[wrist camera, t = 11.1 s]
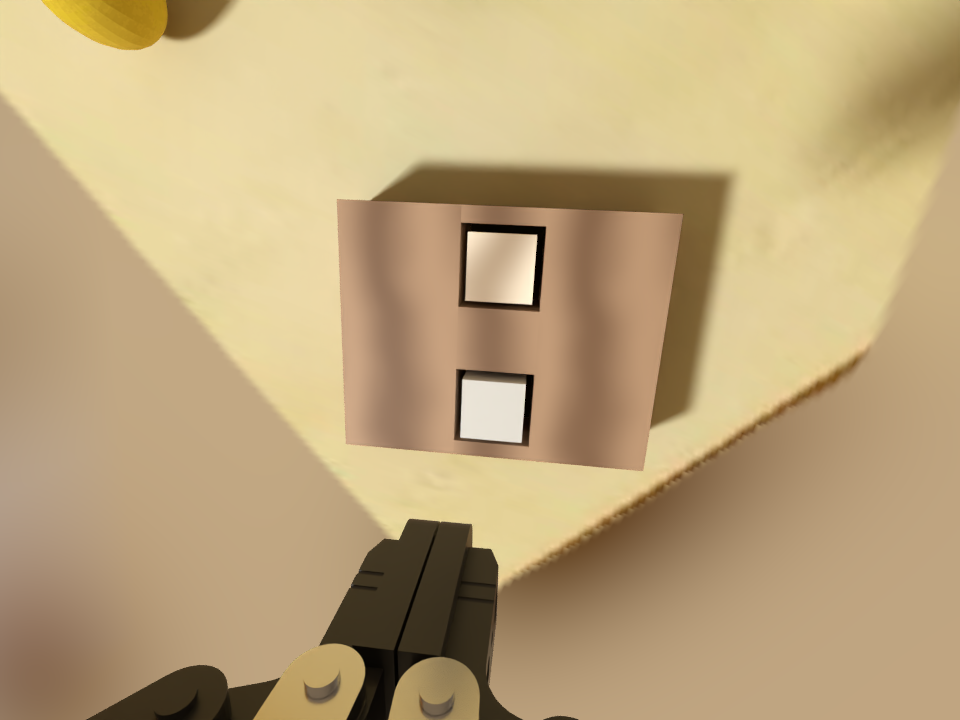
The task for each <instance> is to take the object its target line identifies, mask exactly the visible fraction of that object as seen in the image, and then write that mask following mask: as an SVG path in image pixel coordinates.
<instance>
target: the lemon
mask: <svg viewBox="0 0 960 720" xmlns="http://www.w3.org/2000/svg"><path fill="white" fill-rule="evenodd" d="M42 2H43V3H44V4H45V5H46V6H47V7H48V8H49V9H50V10H51V11H52V12H53V13H54V14H55V15H56V16H57V17H58V18H60V19H61V20H62V21H63V22H64V23H66V24H67V25H69V26H70V27H71V28H73V29H75V30H76V31H78V32H80V33H81V34H83V35H84V36H86V37H88V38H90V39H91V40H94V41H96V42H98V43H100V44H103V45H107V46H110V47H114V48H117V49H122V50H139V49H143V48H146V47H149V46H151V45H153V44H154V43H155V42H157V41H158V40H159V39H160V37H161V36H162V35H163V33H164V31H165V28H166V25H167V18H168V13H167V4H166V0H42Z"/></svg>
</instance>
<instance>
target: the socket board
mask: <svg viewBox="0 0 960 720" xmlns="http://www.w3.org/2000/svg"><path fill="white" fill-rule="evenodd" d="M337 214H338V241H339V268H340V295H341V322H342V349H343V376H344V403H345V430H346V444H352V445H363V446H374V447H385V448H396V449H407V450H418V451H428V452H439V453H450V454H461V455H472V456H483V457H494V458H505V459H516V460H527V461H538V462H549V463H560V464H571V465H582V466H593V467H604V468H615V469H626V470H637V471H643V469H644V462H645V456H646V450H647V443H648V437H649V430H650V424H651V418H652V411H653V405H654V398H655V392H656V386H657V379H658V373H659V367H660V360H661V354H662V347H663V341H664V335H665V328H666V322H667V315H668V309H669V303H670V296H671V290H672V284H673V277H674V271H675V264H676V258H677V252H678V245H679V239H680V233H681V226H682V220H683V214H672V213H649V212H625V211H602V210H578V209H554V208H531V207H507V206H484V205H460V204H436V203H413V202H389V201H366V200H342V199H337ZM471 224H492V225H514V226H536V227H544V237H543V250H542V262H541V275H540V288H539V300H532V305H529V304H513V303H496V302H480V301H465V295H466V268H467V240H468V232H471ZM466 370H478V371H491V372H505V373H518V374H532V375H533V376H532V388H531V401H530V413H529V418H527V417H523V430H522V443H516V442H505V441H494V440H482V439H471V438H460V432H461V405H462V379H463V377H464V375H465V373H466Z"/></svg>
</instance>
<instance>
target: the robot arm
mask: <svg viewBox="0 0 960 720" xmlns="http://www.w3.org/2000/svg"><path fill="white" fill-rule="evenodd" d="M497 590H498V564H497V562H496V559H495V557H494V555H493V552H492V550H491V549H483V548H473V547H472V524H462V523H451V522H441V523H440V522H439V521H428V520H418V519H409V520H408V522H407V524H406V526H405V528H404V530H403V532H402V535H401V537H400V539H399V540H391V539H384V540H382V541H381V542H380V543H379V544H378V545H377V546H375V547H374V548H373V549H372V550H371V551H369V552H368V554H367V556H366V558H365V559H364V561H363V563H362V565H361V567H360V569H359V573H358V574H357V575H356V577H355V578H354V580H353V582H352V584H351V588H349V590H348V592H347V594H346V596H345V597H344V599H343V601H342V603H341V605H340V607H339V609H338V611H337V613H336V615H335V616H334V619H333V620H332V622H331V624H330V626H329V628H328V630H327V632H326V634H325V636H324V637H323V639H322V641H321V643H320V645H319V646H318V647H315V648H312V649H311V650H308V651H306V652H305V653H303V654H301V655H300V656H299V657H298V658H296V659H295V660H294V661H293V662H292V663H291V664H290V665H289V667H288V668H287V669H286V671H285V672H284V673H283V675H282V676H281V677H280V678H278V679H275V680H272V681H267V682H263V683H257V684H252V685H246V686H241V687H235V688H230V689H228V686H227V680H226V677H225V676H224V674H223V673H222V672H221V671H220V670H219V669H217V668H215V667H212V666H207V665H197V666H190V667H186V668H183V669H180V670H177V671H175V672H173V673H171V674H169V675H167V676H165V677H163V678H161V679H159V680H158V681H156V682H154V683H152V684H150V685H148V686H147V687H145V688H143V689H141V690H140V691H138V692H136V693H134V694H132V695H130V696H129V697H127V698H125V699H123V700H121V701H119V702H118V703H116V704H114V705H112V706H110V707H109V708H107V709H105V710H103V711H102V712H100V713H98V714H96V715H94V716H92V717H90V718H89V719H87V720H522V719H520V718H518V717H516V716H515V715H513V714H512V713H510V712H508V711H507V710H506V709H505V708H504V707H502V705H501V704H500V703H499V702H498V701H497V700H496V699H495V697H494V695H493V694H492V692H491V690H490V688H489V682H490V672H491V664H492V654H493V645H494V637H495V628H496V616H497ZM544 720H578V719H575V718H571V717H566V716H555V717H550V718H547V719H544Z"/></svg>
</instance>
